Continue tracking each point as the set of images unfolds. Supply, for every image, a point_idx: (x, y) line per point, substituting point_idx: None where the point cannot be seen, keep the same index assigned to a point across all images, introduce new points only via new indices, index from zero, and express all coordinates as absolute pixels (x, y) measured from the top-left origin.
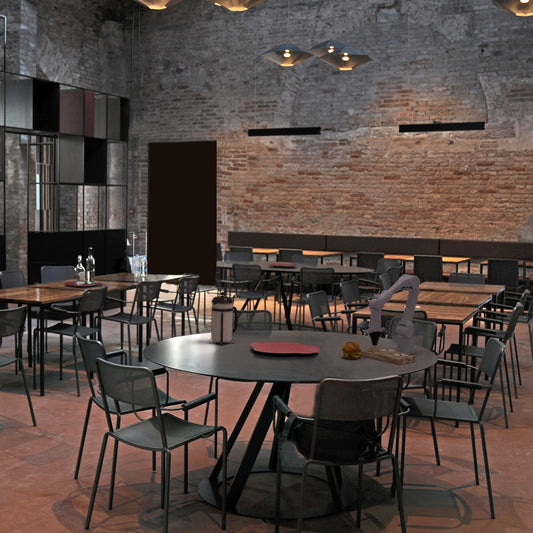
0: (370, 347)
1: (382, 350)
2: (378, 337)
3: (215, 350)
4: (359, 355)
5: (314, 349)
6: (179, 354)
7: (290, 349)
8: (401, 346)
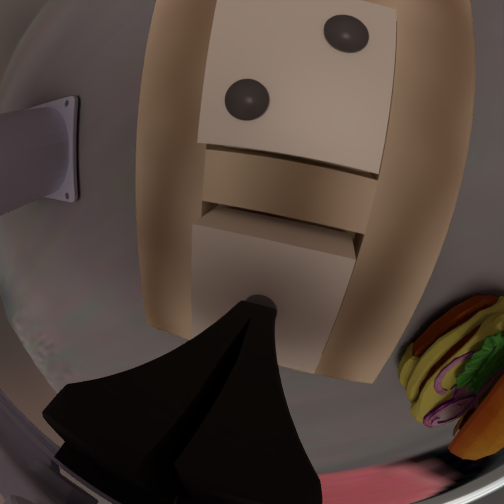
0: (308, 339)
1: (388, 110)
2: (177, 383)
3: (452, 500)
4: (501, 304)
5: (339, 478)
6: (492, 489)
7: (382, 491)
8: (25, 143)
